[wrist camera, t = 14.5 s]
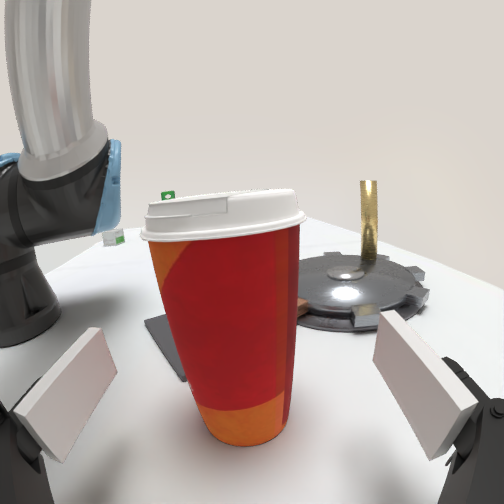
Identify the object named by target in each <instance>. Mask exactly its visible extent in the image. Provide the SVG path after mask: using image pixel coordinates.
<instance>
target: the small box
mask: <svg viewBox="0 0 504 504" xmlns="http://www.w3.org/2000/svg"><path fill="white" fill-rule="evenodd" d="M102 236H103V242H104V246H116V245H118V244H121V243H123V242H125V239H124V233H123V229H112V230H108V231H105V232H102Z"/></svg>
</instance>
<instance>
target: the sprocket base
mask: <svg viewBox="0 0 504 504" xmlns="http://www.w3.org/2000/svg"><path fill="white" fill-rule="evenodd" d="M415 286H416V287H421V288H423V287H422V285H421V284H420V283H419V282H418V281H415ZM394 310H395V311H396V312H397V313H398V314H399V315H400V316H401V317H402V318H403V319H404V320H405V321H406V320H407V319H409V318H411V317H412V316H414V315H415V314H416V313H417V312H418V311H419V310H420V308H419V307H416V306H412V305H408V304H404V305H402V306H400V307H398V308H396V309H394ZM297 324H298V325H301V326H304V327H309V328H313V329H318V330H325V331H334V332H363V331H372V330H378V325H373V326H363V327H354V325H353V323H352V320H351V318H350V317H337V316H327V315H320V314H315V313H310V312H306V313H304V314H303V315H301V316H299V317H297Z"/></svg>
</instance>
